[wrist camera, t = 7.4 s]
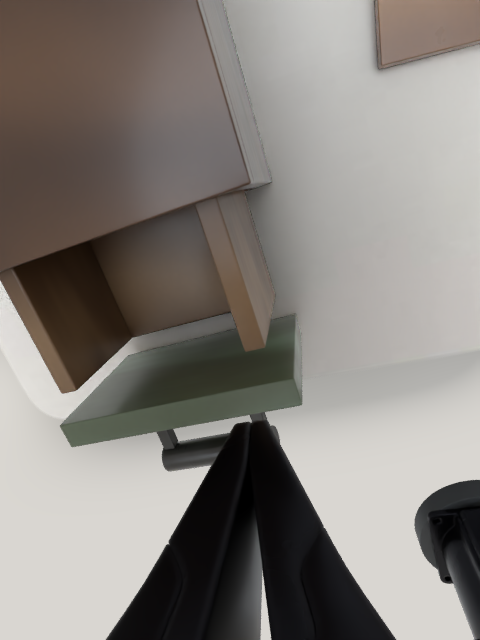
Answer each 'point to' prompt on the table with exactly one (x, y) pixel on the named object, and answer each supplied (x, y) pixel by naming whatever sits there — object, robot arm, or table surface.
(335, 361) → the table surface
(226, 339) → the drawer
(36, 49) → the cabinet
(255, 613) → the robot arm
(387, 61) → the coaster
